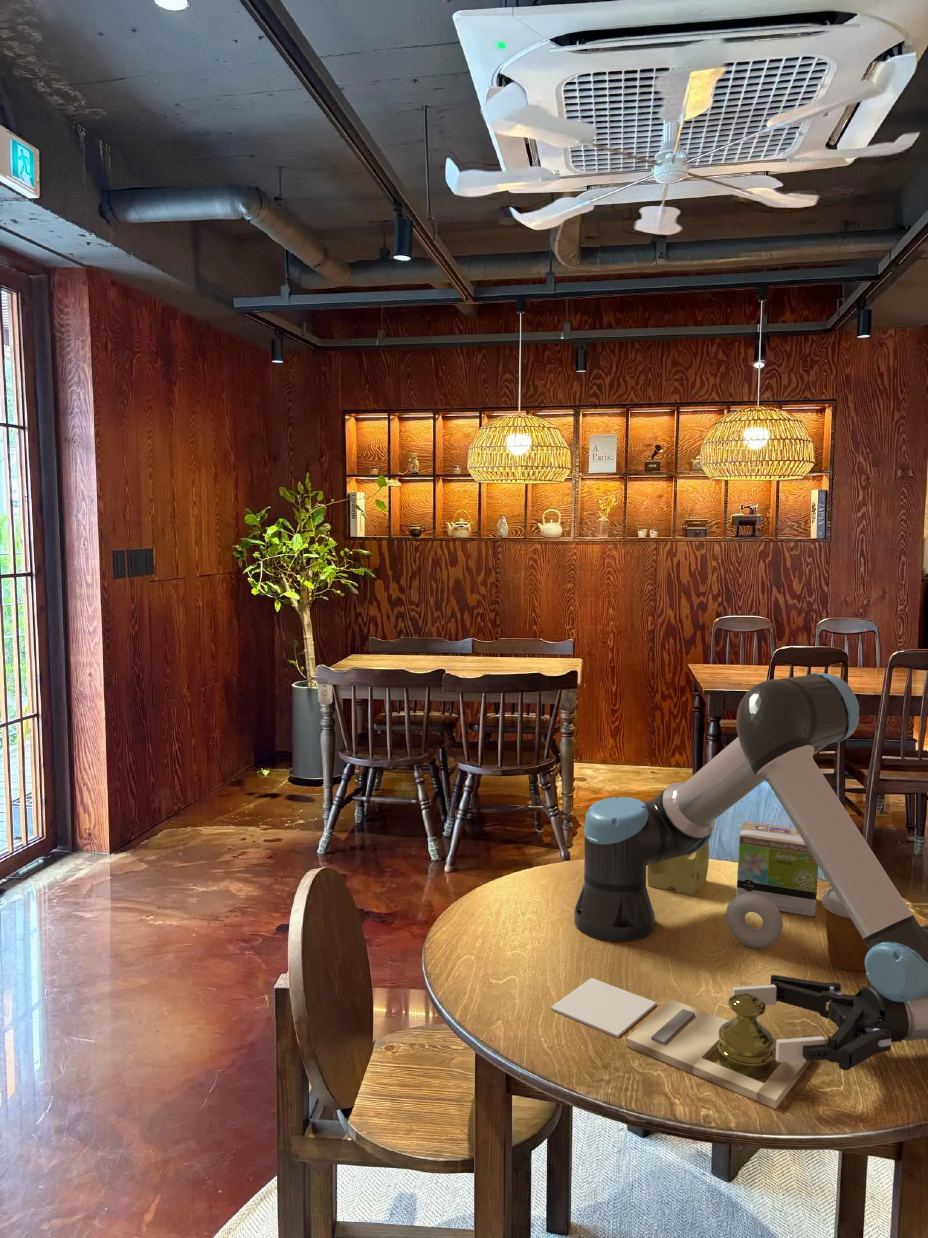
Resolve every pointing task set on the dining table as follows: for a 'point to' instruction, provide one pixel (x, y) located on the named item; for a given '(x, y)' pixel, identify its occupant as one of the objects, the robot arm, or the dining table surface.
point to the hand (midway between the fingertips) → (753, 1023)
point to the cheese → (680, 872)
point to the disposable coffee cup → (842, 935)
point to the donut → (763, 908)
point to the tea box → (777, 867)
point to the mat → (604, 1007)
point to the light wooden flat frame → (707, 1052)
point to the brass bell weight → (746, 1039)
